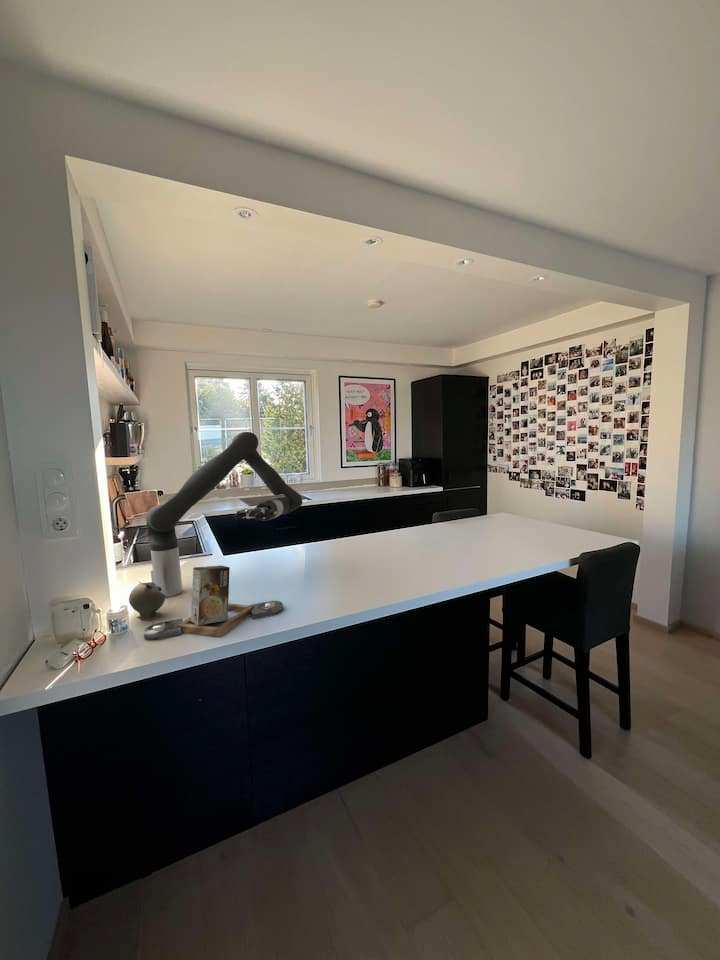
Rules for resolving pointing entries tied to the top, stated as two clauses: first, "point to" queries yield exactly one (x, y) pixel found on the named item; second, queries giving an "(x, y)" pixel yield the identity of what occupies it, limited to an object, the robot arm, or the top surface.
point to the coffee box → (210, 594)
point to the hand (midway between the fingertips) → (245, 517)
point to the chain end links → (171, 627)
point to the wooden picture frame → (244, 611)
